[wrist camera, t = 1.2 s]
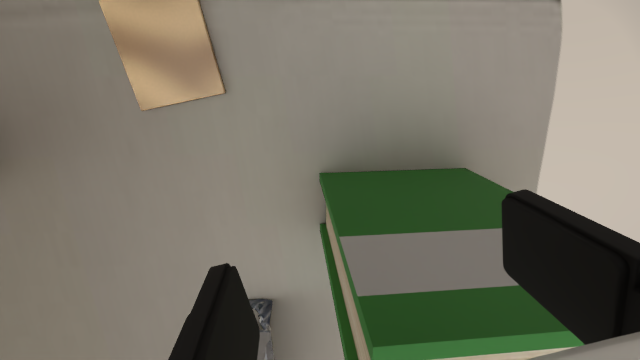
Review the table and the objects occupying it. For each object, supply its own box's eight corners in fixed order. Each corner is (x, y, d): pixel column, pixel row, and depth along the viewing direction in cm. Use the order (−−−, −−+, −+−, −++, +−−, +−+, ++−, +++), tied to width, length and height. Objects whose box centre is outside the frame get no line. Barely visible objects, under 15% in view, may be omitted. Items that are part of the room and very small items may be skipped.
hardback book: (320, 230, 37) (365, 467, 14) (319, 173, 35) (373, 347, 12) (457, 223, 38) (696, 429, 16) (465, 168, 36) (759, 315, 13)
